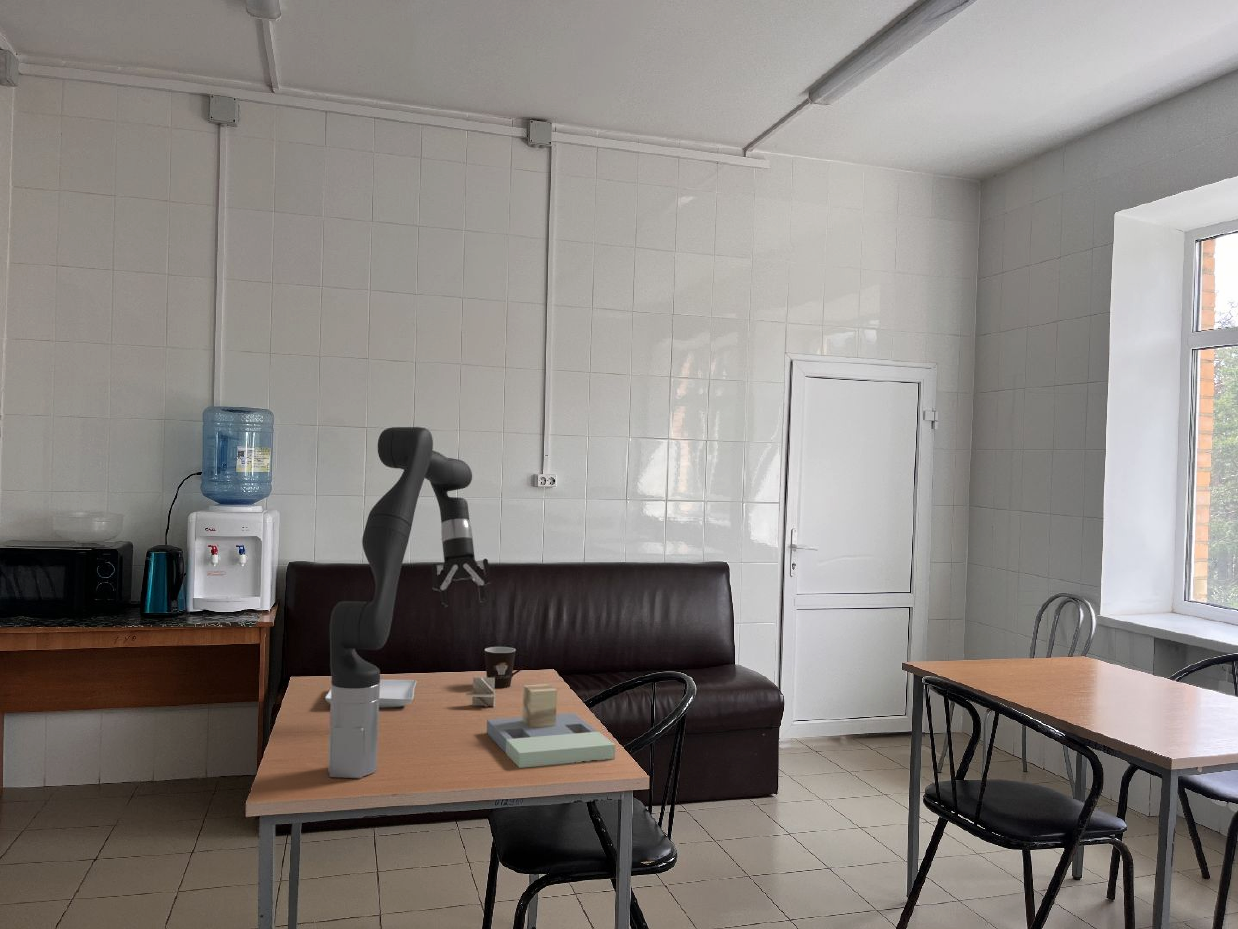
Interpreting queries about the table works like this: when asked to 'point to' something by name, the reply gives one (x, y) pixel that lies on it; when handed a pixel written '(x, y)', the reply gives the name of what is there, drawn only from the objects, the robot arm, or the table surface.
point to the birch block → (539, 705)
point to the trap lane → (550, 741)
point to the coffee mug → (501, 665)
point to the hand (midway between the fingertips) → (464, 604)
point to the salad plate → (392, 693)
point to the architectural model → (483, 691)
